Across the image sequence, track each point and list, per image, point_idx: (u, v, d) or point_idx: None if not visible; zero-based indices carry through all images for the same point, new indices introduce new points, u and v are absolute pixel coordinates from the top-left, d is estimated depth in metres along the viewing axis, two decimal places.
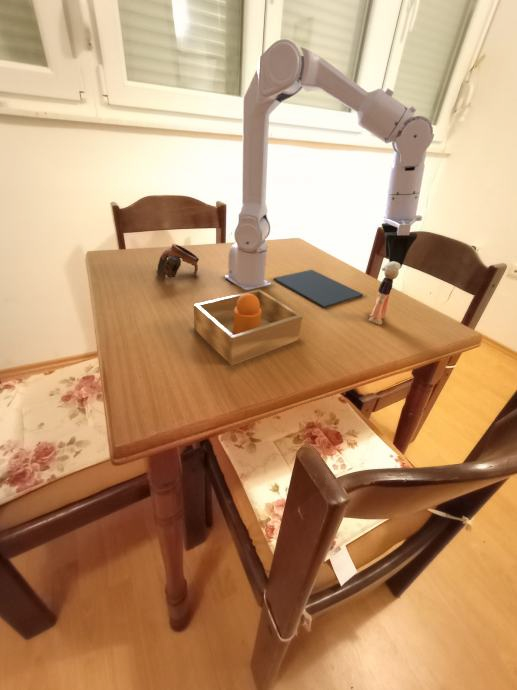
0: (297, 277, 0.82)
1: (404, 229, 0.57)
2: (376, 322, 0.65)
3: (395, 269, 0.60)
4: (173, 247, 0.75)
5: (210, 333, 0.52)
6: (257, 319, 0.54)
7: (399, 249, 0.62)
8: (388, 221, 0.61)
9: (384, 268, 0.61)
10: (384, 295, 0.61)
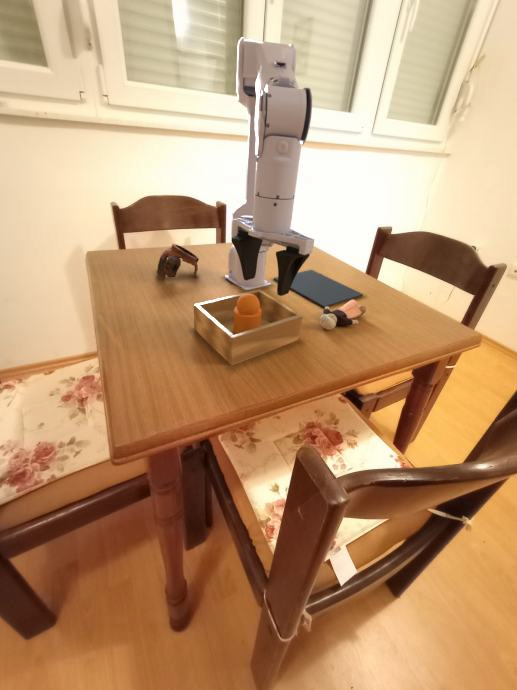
0: (297, 277, 0.82)
1: None
2: (364, 311, 0.66)
3: (333, 322, 0.59)
4: (173, 247, 0.75)
5: (210, 333, 0.52)
6: (257, 319, 0.54)
7: None
8: None
9: (328, 329, 0.61)
10: (353, 322, 0.62)
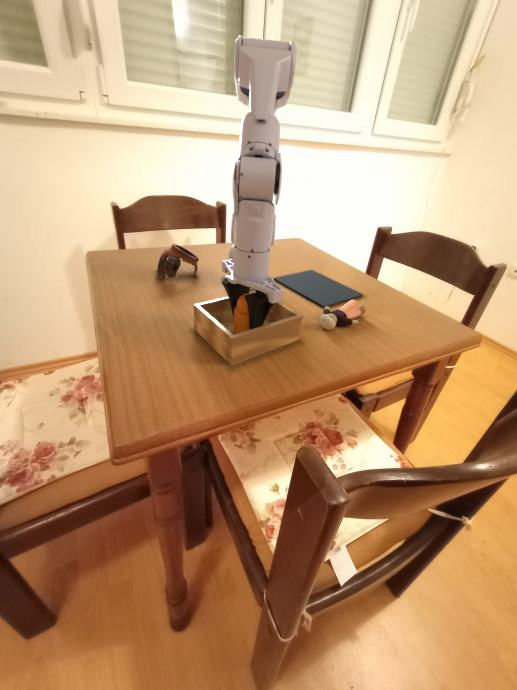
0: (297, 277, 0.82)
1: None
2: (364, 311, 0.66)
3: (333, 322, 0.59)
4: (173, 247, 0.75)
5: (210, 333, 0.52)
6: None
7: None
8: None
9: (328, 329, 0.61)
10: (353, 322, 0.62)
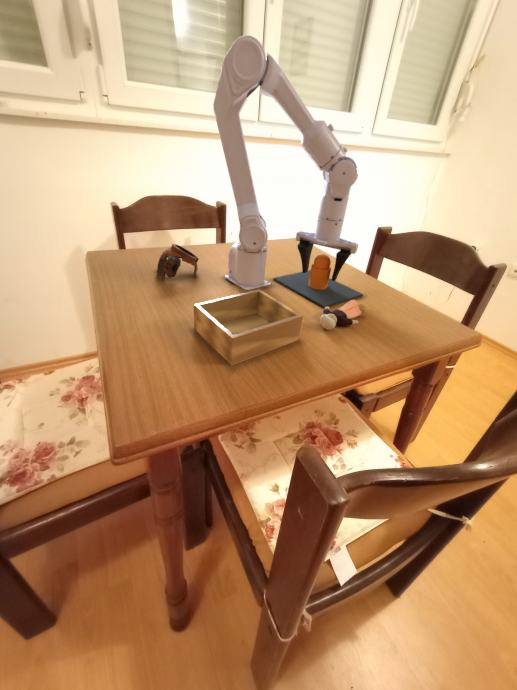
0: (297, 277, 0.82)
1: None
2: (364, 311, 0.66)
3: (333, 322, 0.59)
4: (173, 247, 0.75)
5: (210, 333, 0.52)
6: None
7: None
8: None
9: (328, 329, 0.61)
10: (353, 322, 0.62)
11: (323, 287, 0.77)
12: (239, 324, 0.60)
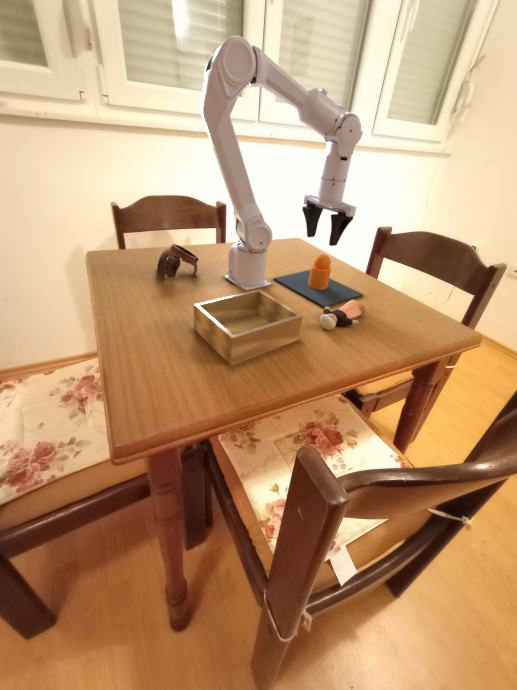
0: (297, 277, 0.82)
1: (353, 211, 0.68)
2: (364, 311, 0.66)
3: (333, 322, 0.59)
4: (173, 247, 0.75)
5: (210, 333, 0.52)
6: None
7: (338, 228, 0.73)
8: (330, 204, 0.70)
9: (328, 329, 0.61)
10: (353, 322, 0.62)
11: (323, 287, 0.77)
12: (239, 324, 0.60)
